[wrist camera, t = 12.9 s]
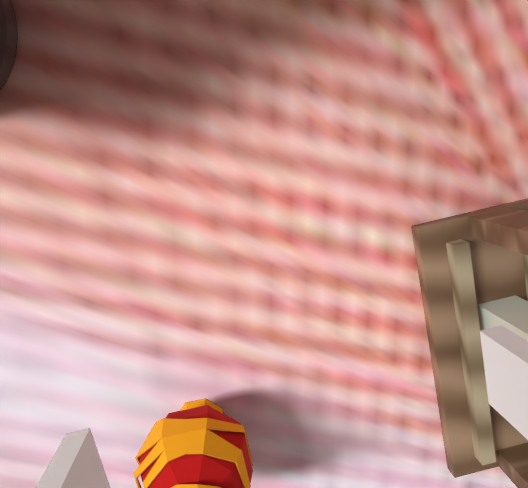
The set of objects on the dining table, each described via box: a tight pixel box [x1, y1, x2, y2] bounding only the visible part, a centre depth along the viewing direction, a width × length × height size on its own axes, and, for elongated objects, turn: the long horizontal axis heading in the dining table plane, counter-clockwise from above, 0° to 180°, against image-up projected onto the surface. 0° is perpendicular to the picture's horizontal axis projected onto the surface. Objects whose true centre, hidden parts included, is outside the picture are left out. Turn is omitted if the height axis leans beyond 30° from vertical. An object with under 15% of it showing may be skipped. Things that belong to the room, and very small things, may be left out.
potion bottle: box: [134, 399, 253, 488], centre depth 39 cm, size 10×10×15 cm
